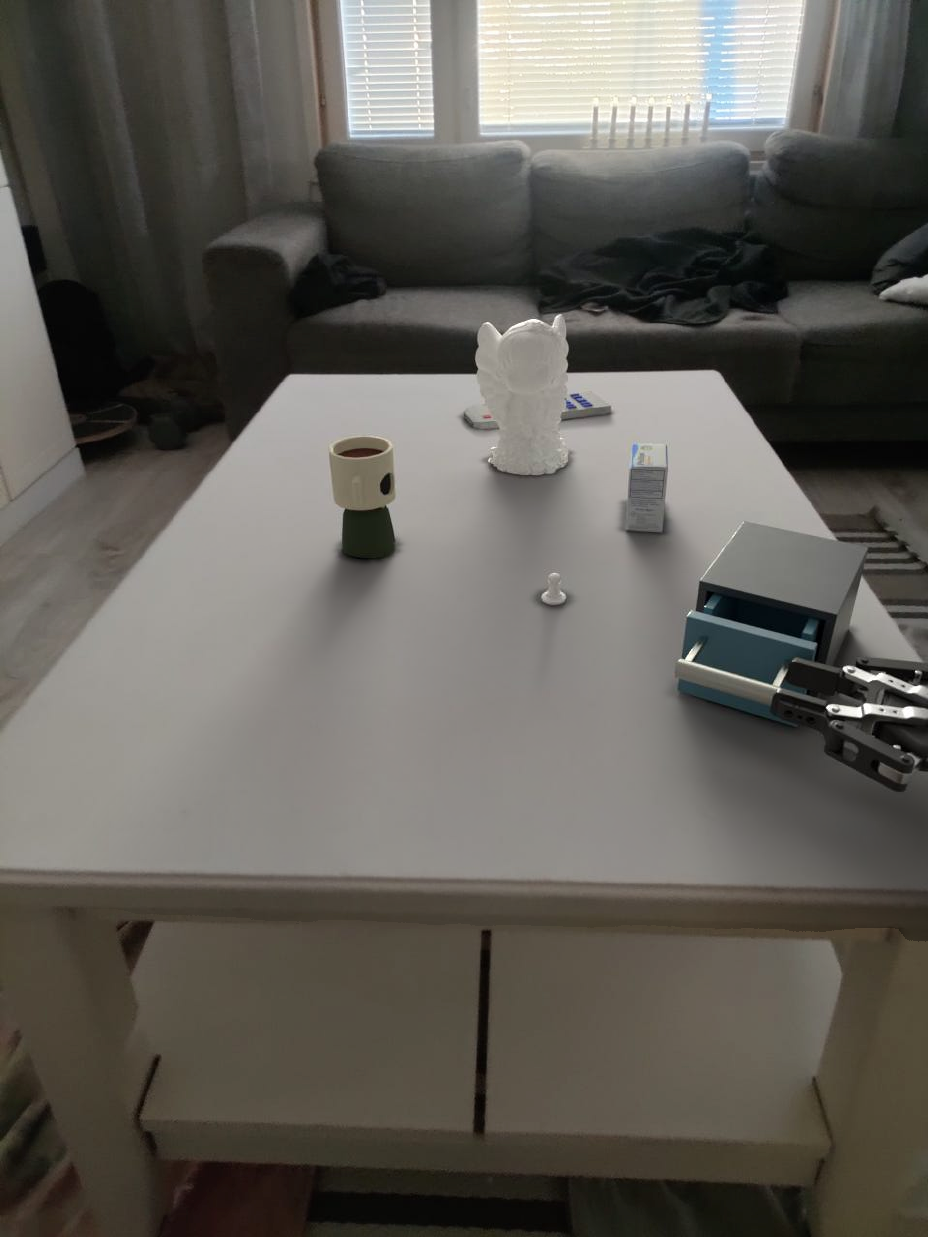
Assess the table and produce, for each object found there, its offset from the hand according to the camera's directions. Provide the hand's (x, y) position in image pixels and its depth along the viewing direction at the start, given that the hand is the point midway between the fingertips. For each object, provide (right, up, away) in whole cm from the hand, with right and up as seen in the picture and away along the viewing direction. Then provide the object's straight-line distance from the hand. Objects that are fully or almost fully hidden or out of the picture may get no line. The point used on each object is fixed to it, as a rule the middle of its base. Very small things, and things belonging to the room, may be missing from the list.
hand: (781, 685), depth 68 cm
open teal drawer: (+1, -1, +10) cm, 10 cm away
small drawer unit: (+5, +2, +17) cm, 17 cm away
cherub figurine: (-16, +27, +58) cm, 66 cm away
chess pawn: (-15, +7, +25) cm, 30 cm away
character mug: (-36, +13, +36) cm, 52 cm away
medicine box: (-2, +17, +41) cm, 45 cm away
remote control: (-13, +38, +74) cm, 84 cm away
